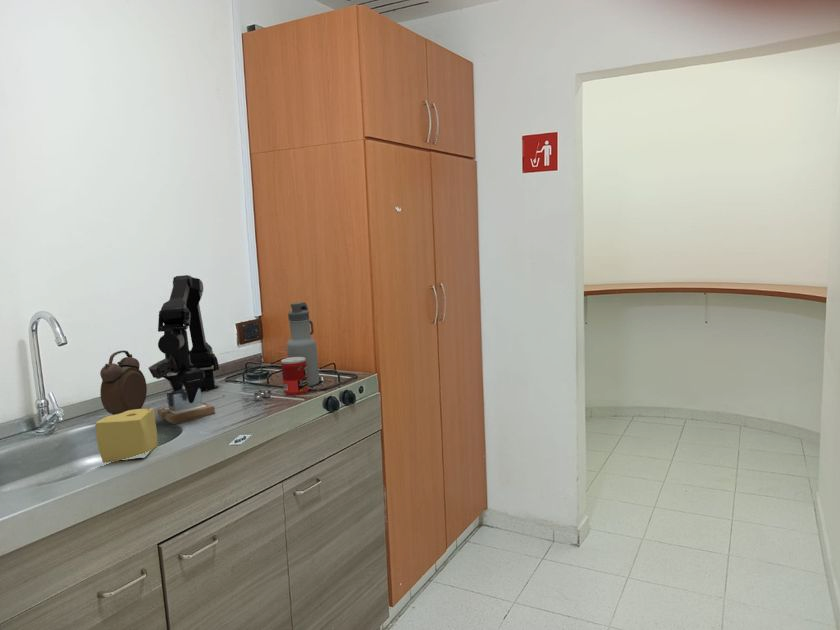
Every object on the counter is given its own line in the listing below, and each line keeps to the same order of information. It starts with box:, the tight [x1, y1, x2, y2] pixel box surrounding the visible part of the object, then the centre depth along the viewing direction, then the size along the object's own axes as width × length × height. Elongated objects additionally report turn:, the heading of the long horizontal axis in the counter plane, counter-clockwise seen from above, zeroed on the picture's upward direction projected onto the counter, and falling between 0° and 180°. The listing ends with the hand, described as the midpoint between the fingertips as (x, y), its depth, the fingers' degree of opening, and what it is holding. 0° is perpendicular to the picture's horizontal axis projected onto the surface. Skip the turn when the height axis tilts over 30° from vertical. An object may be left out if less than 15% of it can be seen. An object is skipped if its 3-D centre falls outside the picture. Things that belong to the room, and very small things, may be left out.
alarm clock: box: [99, 350, 148, 415], centre depth 183 cm, size 15×7×20 cm, turn 171°
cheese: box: [95, 407, 158, 463], centre depth 149 cm, size 10×11×10 cm
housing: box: [166, 387, 203, 412], centre depth 181 cm, size 8×5×5 cm, turn 134°
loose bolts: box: [253, 389, 272, 402], centre depth 197 cm, size 6×8×2 cm
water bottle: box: [286, 301, 320, 388], centre depth 209 cm, size 10×10×28 cm
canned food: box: [280, 357, 309, 396], centre depth 200 cm, size 8×8×11 cm
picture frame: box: [156, 401, 216, 425], centre depth 181 cm, size 12×12×2 cm
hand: (184, 400), depth 181 cm, fingers open, 9 cm apart
